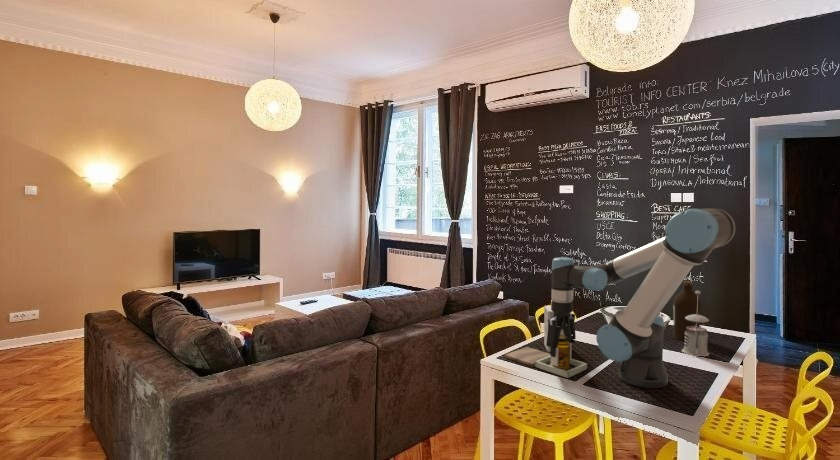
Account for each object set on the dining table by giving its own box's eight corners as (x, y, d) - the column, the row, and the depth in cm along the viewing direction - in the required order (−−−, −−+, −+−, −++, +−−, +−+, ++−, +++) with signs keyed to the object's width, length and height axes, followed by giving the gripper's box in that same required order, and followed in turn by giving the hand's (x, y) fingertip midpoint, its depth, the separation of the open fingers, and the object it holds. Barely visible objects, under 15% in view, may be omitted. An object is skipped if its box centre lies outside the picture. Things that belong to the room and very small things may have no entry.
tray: (587, 368, 166) (587, 363, 166) (567, 378, 158) (567, 372, 158) (554, 358, 177) (555, 353, 177) (534, 366, 169) (534, 361, 169)
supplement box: (566, 345, 193) (567, 305, 191) (571, 352, 183) (572, 311, 182) (543, 344, 194) (543, 305, 192) (547, 352, 184) (547, 310, 183)
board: (554, 357, 178) (554, 355, 178) (532, 366, 169) (532, 364, 169) (527, 349, 188) (527, 346, 188) (504, 357, 179) (504, 354, 179)
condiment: (553, 372, 164) (553, 339, 163) (548, 363, 172) (548, 332, 171) (574, 372, 163) (574, 339, 162) (568, 363, 172) (569, 332, 171)
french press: (708, 350, 184) (710, 289, 182) (712, 360, 174) (715, 295, 172) (680, 347, 189) (682, 287, 187) (682, 356, 178) (685, 292, 176)
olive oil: (703, 338, 199) (705, 281, 197) (695, 344, 192) (697, 285, 190) (676, 333, 207) (678, 278, 205) (668, 338, 200) (670, 281, 198)
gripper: (568, 294, 175) (567, 353, 177) (536, 303, 162) (535, 366, 164) (586, 297, 169) (585, 358, 171) (554, 307, 156) (553, 372, 158)
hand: (561, 362), depth 167 cm, fingers open, 8 cm apart
